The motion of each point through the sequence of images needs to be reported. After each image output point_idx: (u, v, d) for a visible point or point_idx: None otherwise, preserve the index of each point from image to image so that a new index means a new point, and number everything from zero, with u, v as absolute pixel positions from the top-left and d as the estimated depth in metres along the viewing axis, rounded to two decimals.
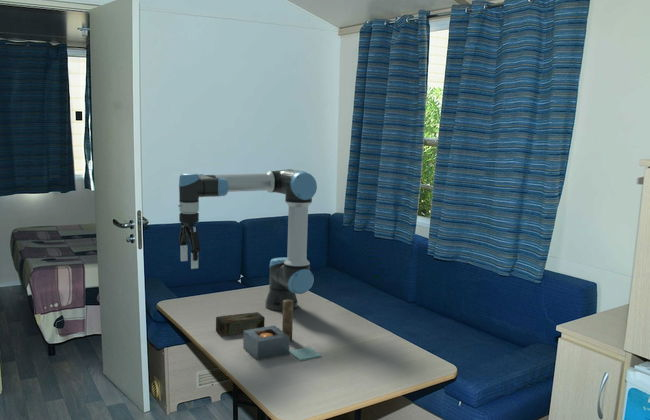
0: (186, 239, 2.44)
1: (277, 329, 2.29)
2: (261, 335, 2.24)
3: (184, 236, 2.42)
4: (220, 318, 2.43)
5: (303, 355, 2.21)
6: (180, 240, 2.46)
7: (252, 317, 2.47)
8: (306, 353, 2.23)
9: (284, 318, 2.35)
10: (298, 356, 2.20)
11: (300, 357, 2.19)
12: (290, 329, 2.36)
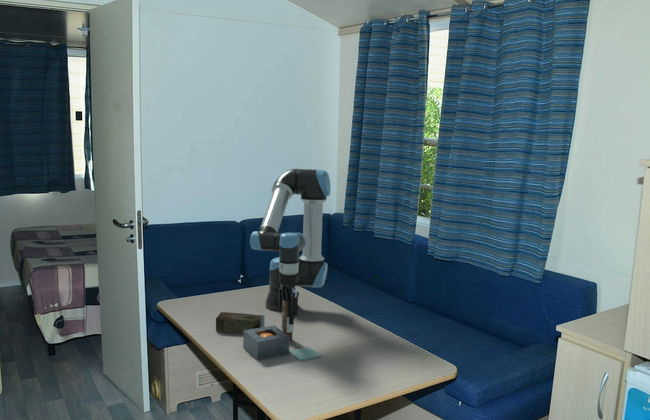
0: None
1: (277, 329, 2.29)
2: (261, 335, 2.24)
3: (284, 299, 2.37)
4: (221, 314, 2.48)
5: (303, 355, 2.21)
6: (280, 306, 2.39)
7: (250, 319, 2.45)
8: (306, 353, 2.23)
9: (284, 318, 2.35)
10: (298, 356, 2.20)
11: (300, 357, 2.19)
12: None
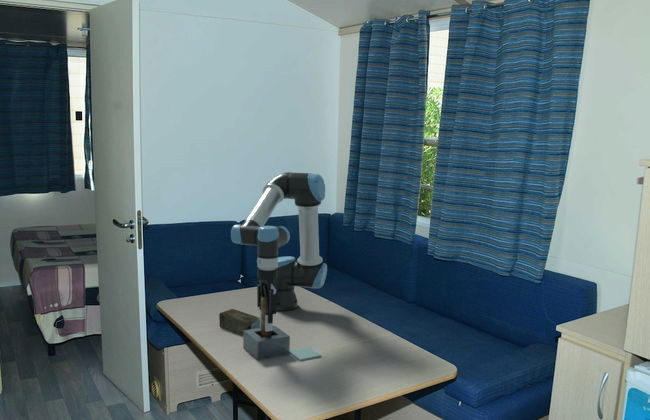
0: None
1: (277, 329, 2.29)
2: None
3: (263, 296, 2.24)
4: (228, 310, 2.53)
5: (303, 355, 2.21)
6: (259, 303, 2.26)
7: (246, 319, 2.43)
8: (306, 353, 2.23)
9: (263, 316, 2.22)
10: (298, 356, 2.20)
11: (300, 357, 2.19)
12: None
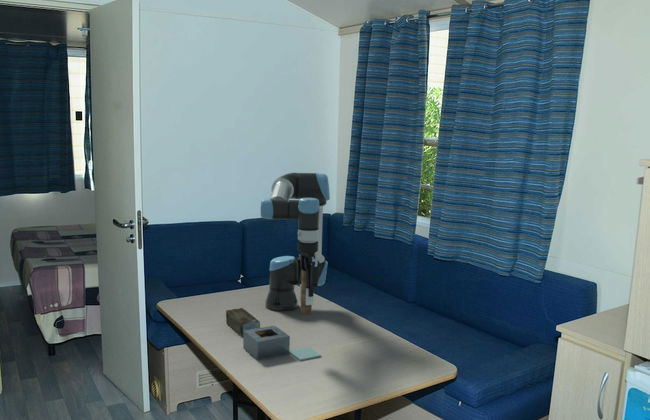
0: None
1: (277, 329, 2.29)
2: None
3: (303, 269, 2.20)
4: (236, 309, 2.55)
5: (303, 355, 2.21)
6: (299, 277, 2.23)
7: (242, 320, 2.43)
8: (306, 353, 2.23)
9: (303, 289, 2.18)
10: (298, 356, 2.20)
11: (300, 357, 2.19)
12: None
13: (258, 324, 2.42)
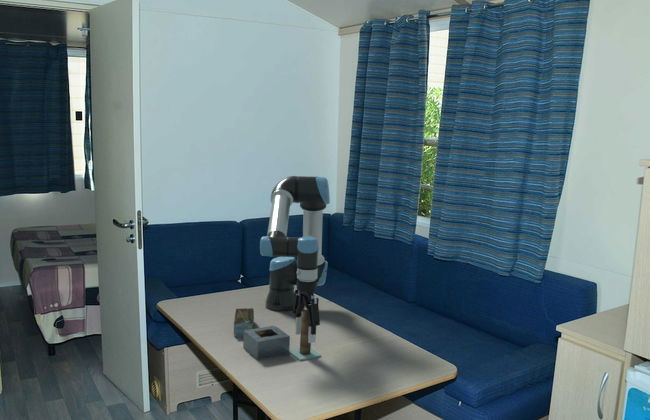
0: (302, 309, 2.25)
1: (277, 329, 2.29)
2: None
3: (300, 305, 2.23)
4: None
5: (303, 355, 2.21)
6: (295, 311, 2.27)
7: (238, 319, 2.43)
8: None
9: (302, 330, 2.20)
10: (298, 356, 2.20)
11: (300, 357, 2.19)
12: None
13: (250, 326, 2.39)
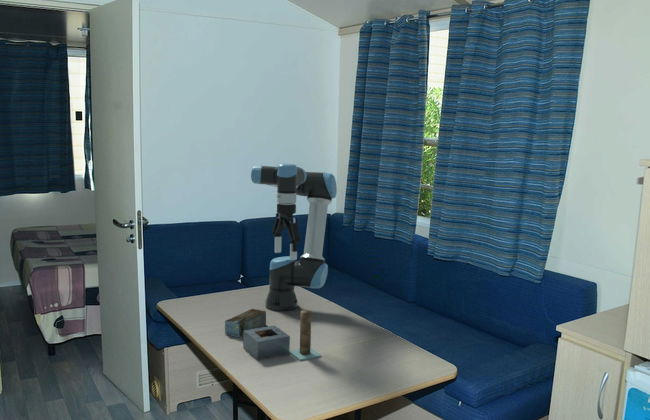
0: (281, 230, 2.42)
1: (277, 329, 2.29)
2: None
3: (280, 227, 2.40)
4: (258, 310, 2.55)
5: (303, 355, 2.21)
6: (274, 231, 2.45)
7: (235, 318, 2.45)
8: None
9: (302, 330, 2.20)
10: (298, 356, 2.20)
11: (300, 357, 2.19)
12: (308, 342, 2.21)
13: (237, 326, 2.38)
